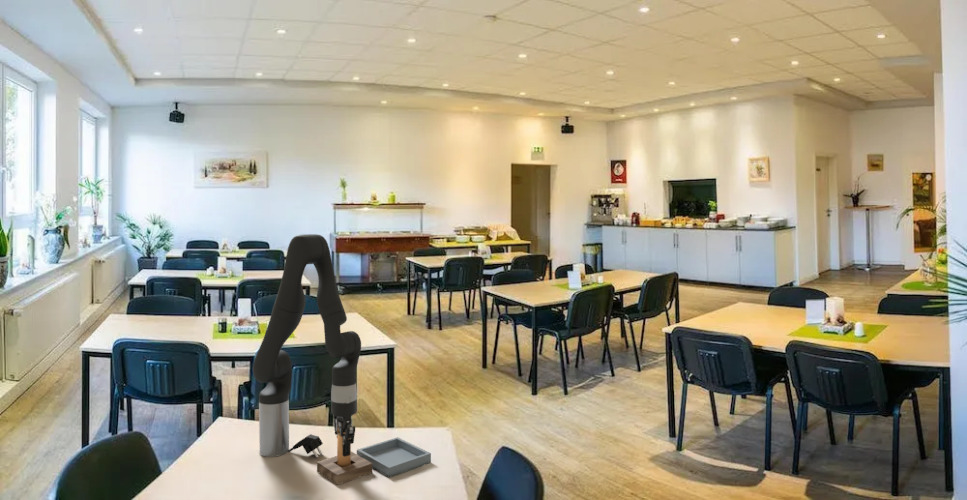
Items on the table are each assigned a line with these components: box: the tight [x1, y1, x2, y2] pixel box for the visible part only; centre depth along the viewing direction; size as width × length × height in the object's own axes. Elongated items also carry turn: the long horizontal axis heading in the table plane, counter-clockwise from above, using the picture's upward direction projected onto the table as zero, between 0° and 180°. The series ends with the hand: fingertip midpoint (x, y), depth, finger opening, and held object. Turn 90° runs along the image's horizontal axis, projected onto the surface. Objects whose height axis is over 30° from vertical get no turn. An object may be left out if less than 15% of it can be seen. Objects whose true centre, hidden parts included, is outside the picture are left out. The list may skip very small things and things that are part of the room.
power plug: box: [287, 433, 324, 459], centre depth 198 cm, size 6×8×12 cm
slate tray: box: [356, 436, 432, 478], centre depth 194 cm, size 18×16×3 cm
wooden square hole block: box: [316, 451, 373, 486], centre depth 185 cm, size 12×12×3 cm
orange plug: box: [336, 432, 352, 468], centre depth 185 cm, size 4×4×10 cm
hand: (344, 452), depth 185 cm, fingers closed on orange plug, 4 cm apart
